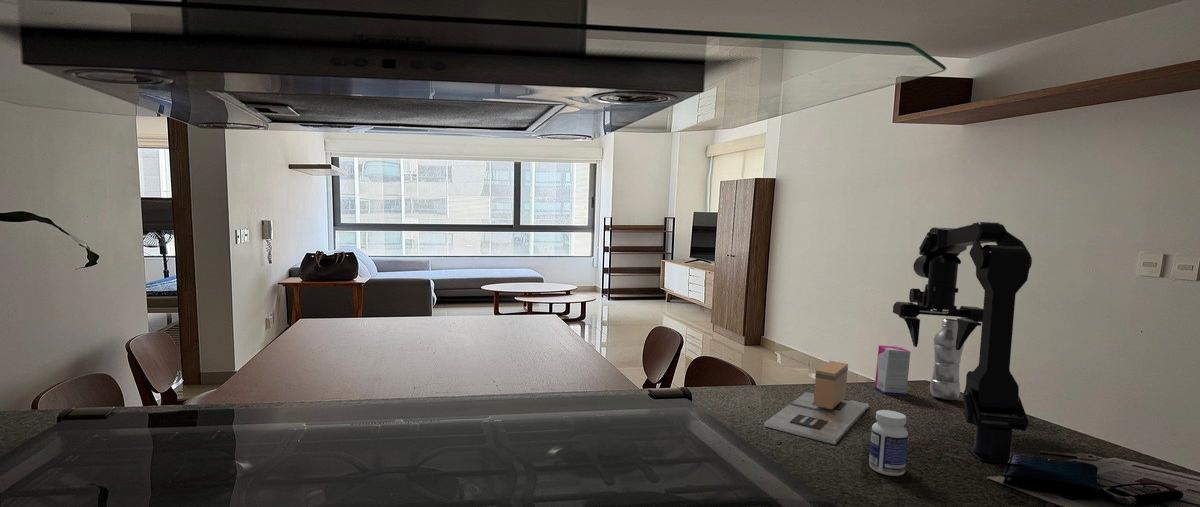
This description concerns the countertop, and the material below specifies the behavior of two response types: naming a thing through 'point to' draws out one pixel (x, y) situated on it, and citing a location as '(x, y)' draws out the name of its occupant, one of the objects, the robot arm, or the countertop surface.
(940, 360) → the plastic bottle
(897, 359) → the supplement box
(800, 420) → the label panel
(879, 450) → the pill bottle
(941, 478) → the countertop surface
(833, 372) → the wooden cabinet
